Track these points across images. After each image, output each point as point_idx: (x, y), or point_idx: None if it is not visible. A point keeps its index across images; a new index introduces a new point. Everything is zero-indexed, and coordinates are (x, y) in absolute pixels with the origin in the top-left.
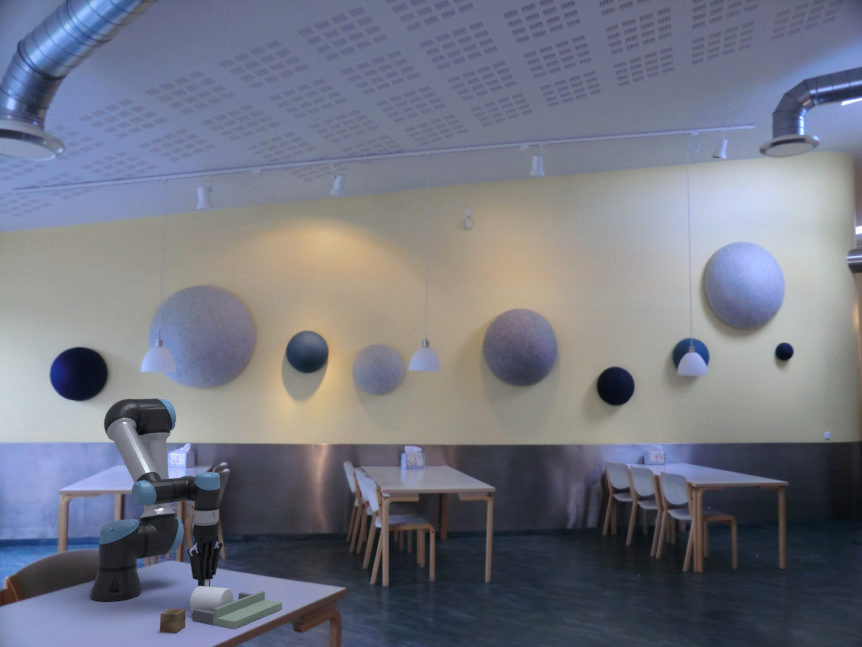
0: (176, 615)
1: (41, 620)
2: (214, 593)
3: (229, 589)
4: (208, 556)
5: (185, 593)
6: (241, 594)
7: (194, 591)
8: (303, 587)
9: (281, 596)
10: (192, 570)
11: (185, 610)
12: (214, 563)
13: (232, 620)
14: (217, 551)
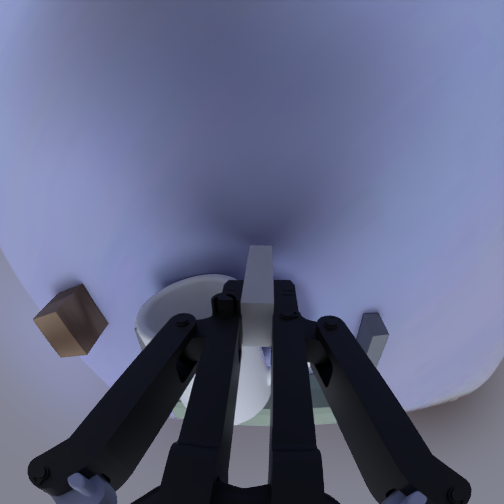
0: (60, 353)
1: (3, 8)
2: (182, 402)
3: (239, 422)
4: (268, 473)
5: (388, 38)
6: (368, 345)
7: (144, 341)
8: (499, 337)
9: (441, 353)
10: (142, 360)
11: (87, 352)
12: (334, 413)
13: (176, 413)
14: (370, 487)
